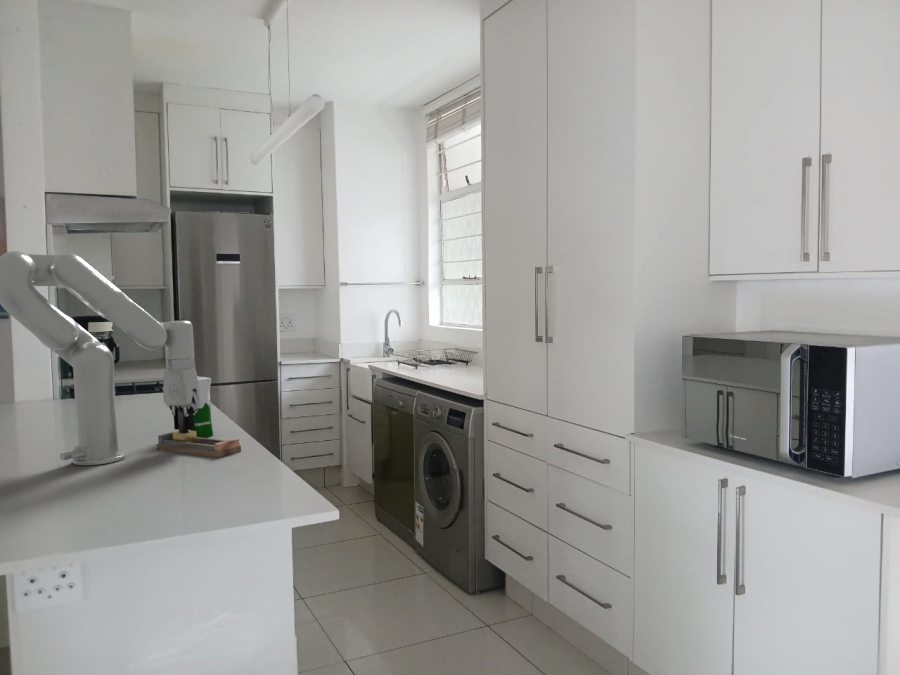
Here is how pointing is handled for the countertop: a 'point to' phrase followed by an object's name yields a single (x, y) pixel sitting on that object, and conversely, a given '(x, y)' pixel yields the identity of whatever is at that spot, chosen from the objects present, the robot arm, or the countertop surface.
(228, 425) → the countertop surface
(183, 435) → the slider
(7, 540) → the countertop surface
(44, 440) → the countertop surface
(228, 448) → the rail base
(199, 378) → the milk carton
